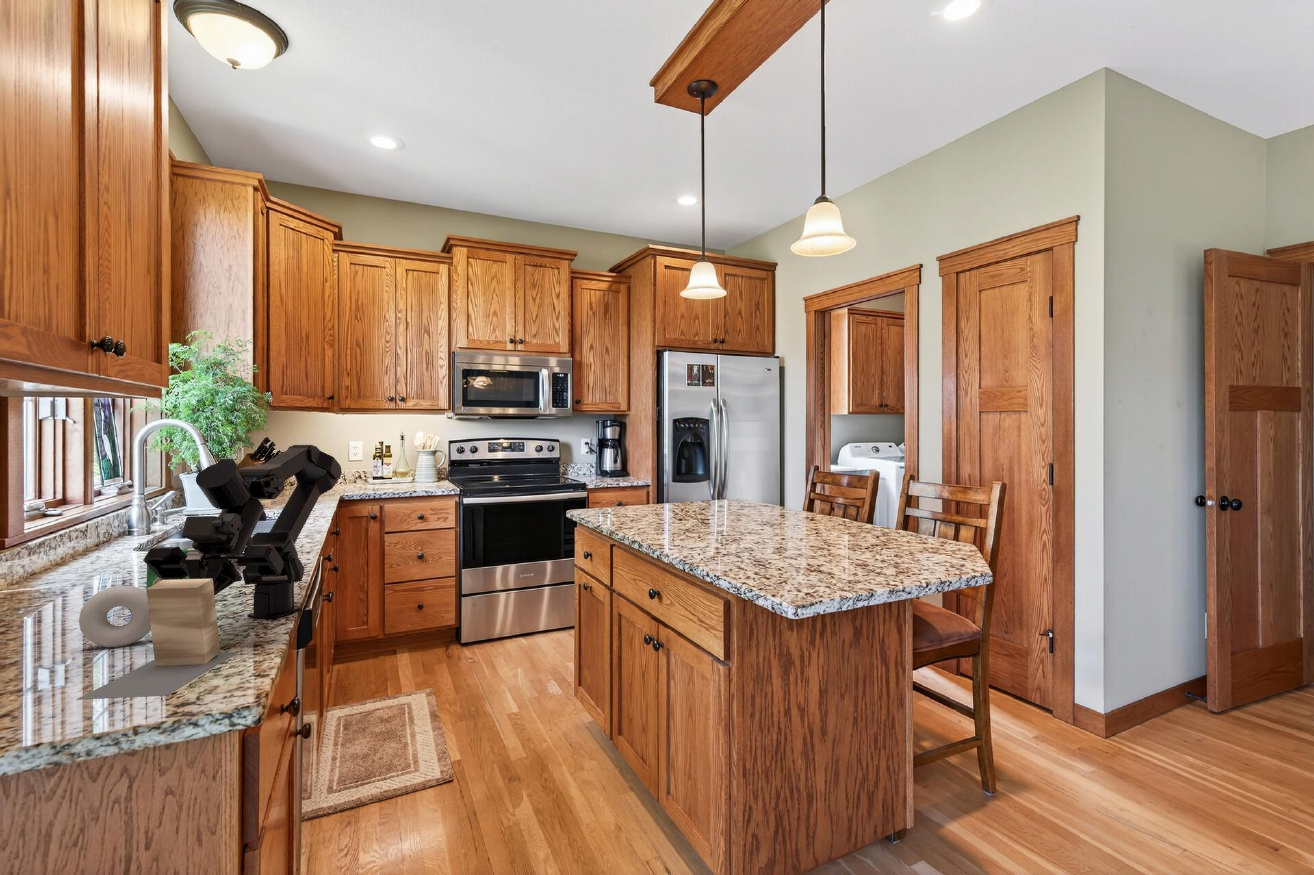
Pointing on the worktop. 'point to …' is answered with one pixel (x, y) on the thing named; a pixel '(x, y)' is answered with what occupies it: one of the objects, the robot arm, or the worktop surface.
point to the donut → (100, 628)
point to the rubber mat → (155, 679)
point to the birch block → (183, 621)
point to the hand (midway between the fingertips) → (192, 608)
